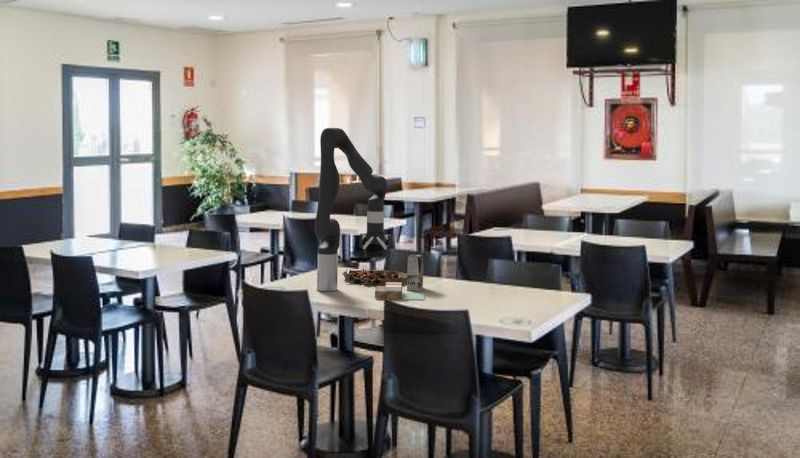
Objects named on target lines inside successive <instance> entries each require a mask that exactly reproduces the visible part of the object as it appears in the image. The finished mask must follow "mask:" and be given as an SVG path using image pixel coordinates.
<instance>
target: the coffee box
mask: <svg viewBox="0 0 800 458" xmlns="http://www.w3.org/2000/svg"><path fill="white" fill-rule="evenodd" d="M406 270H407V271H406V273H407V285H406V291H415V292H419V291H421V290H422V289H423V288H424V254H419V253H418V254H416V253H415V254H412V253H411V254H410V255H408V256H407V269H406Z"/></svg>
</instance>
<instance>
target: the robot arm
mask: <svg viewBox="0 0 800 458" xmlns="http://www.w3.org/2000/svg"><path fill="white" fill-rule="evenodd" d="M319 138H320V139H319V140H320V141H319V142H320V143H319V145H320V172H319V180H318V181H319V182H318V185H319V186H318V199H317V200H318V201H317V210H316V215H315V221H314V233H315V236H316V238H317V239H319V240H321V241H322V240H323V241H322V243H321V244H320V245H319V246H318V247H317V270H316V291H321V292H334V291H335V292H336V291H337V290H338V270H339V269H338V266H339V265H338V264H339V263H338V260H339V258H338V256H339V255H338V253H339V252H338V251H339V248H340V244H341V243H340V241H341V225H340V223H339V222H338V220H337V219H335V218H331V212H332V207H333V206H334V203H335V201H336V199H337V197H338V196H339V192H340V181H341V179H340V173H339V171H338V168H337V165H336V162H335V149H339V150H340V151H341V152H342V153H343V154H344V155H345V157H346V159H347V162H348V165H349V167H350V168H351V169H352V171H353V172H354V173H355V174H356V176H357V177H358V178H359V181H360V182H361V183H362V186H363V188H364V189H365V190H366V191H367V192H369V193H373V194H372V196H371V197H370V198H368V199H367V214H366V234H364V233H360V234H359V238H358V239H359V240H358V248H360V249H362V257H364V258H367V247H368V246H369V245H370V244H371V245H374V244H375V245H381V247H382V248H383V258H384V259H386V257H387V256H388V249H391V247H392V240H391V238H392V236H391V234H385V229H384V228H385V215H384V214H385V213H384V202H385V198H386V195H387V191H388V182H387V179H386V178H385V177H384V176H382V175H375V176H374V175H373V172H374V171H373V168H372V167H371V165H370V164H369V163H368V162H367V161H366V160H365V159H364V158H363V157H362V155H361V154H360V152H359V151H358V150H357V149H356V147H355V146H354V144H353V142H352V141H351V139H350V138H349V136H348V134H347V132H345V130H343V129H342V128H341V127H326V128H323V129H322V131H321V134H320V137H319ZM365 238H366V242H365V243H364V244H363V240H364V239H365ZM384 238H385V240H387V245H386V243H385V242H384V241H383V240H384Z"/></svg>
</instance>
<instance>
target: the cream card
mask: <svg viewBox="0 0 800 458" xmlns="http://www.w3.org/2000/svg"><path fill="white" fill-rule="evenodd" d="M401 287H402V288H403V286H402V285H386V291H401Z"/></svg>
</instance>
